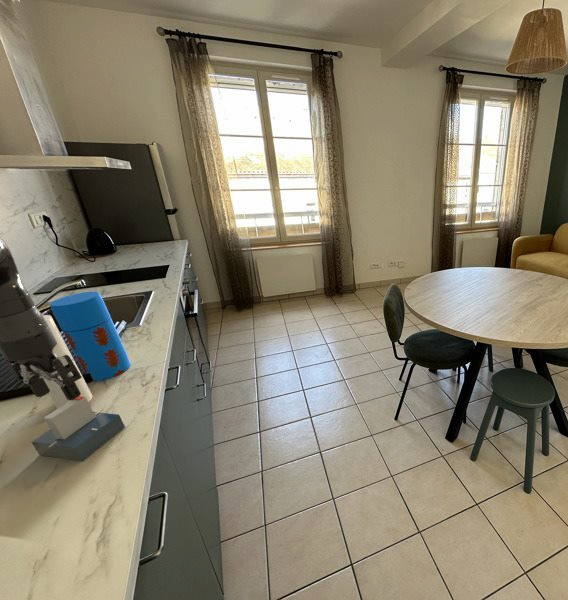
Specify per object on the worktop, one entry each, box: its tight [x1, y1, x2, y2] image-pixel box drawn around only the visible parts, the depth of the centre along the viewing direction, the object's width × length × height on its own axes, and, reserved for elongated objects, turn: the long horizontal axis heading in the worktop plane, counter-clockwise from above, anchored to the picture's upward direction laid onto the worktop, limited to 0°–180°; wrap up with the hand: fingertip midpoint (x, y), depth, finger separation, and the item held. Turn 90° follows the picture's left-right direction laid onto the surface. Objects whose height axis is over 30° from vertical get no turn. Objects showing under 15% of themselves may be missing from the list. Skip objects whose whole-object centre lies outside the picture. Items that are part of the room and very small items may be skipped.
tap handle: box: [43, 396, 96, 440], centre depth 74 cm, size 7×2×6 cm, turn 170°
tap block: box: [30, 409, 126, 462], centre depth 76 cm, size 12×11×4 cm
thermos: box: [49, 291, 131, 382], centre depth 98 cm, size 11×11×25 cm
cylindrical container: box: [40, 314, 94, 410], centre depth 85 cm, size 7×7×25 cm
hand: (59, 396), depth 72 cm, fingers open, 8 cm apart
